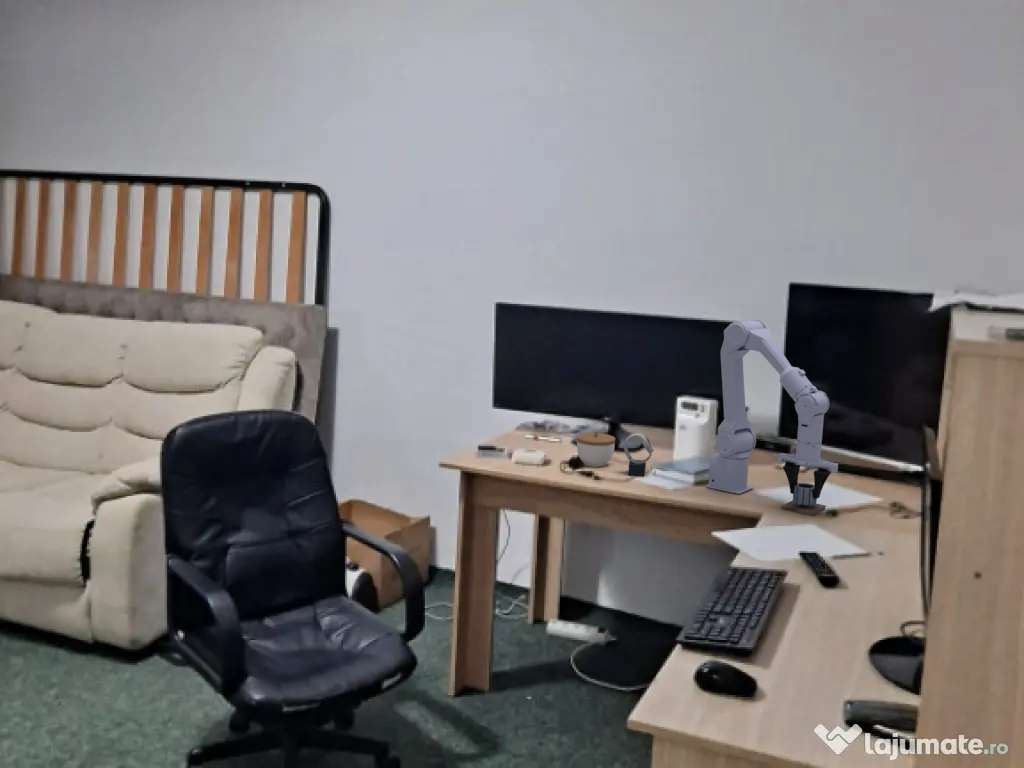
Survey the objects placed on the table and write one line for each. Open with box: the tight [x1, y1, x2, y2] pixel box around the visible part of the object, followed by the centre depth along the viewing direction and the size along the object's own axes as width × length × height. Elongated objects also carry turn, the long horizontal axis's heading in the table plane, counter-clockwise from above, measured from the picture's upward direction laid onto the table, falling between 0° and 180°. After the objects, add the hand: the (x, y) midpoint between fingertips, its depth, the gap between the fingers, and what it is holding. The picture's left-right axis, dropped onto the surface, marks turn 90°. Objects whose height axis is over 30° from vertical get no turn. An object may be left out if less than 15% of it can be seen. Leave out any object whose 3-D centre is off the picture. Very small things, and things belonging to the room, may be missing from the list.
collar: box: [792, 482, 818, 505], centre depth 251 cm, size 6×6×4 cm
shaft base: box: [780, 499, 827, 517], centre depth 251 cm, size 8×8×5 cm
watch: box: [623, 432, 654, 478], centre depth 278 cm, size 6×8×11 cm
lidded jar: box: [576, 430, 616, 468], centre depth 287 cm, size 11×11×9 cm
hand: (804, 495), depth 251 cm, fingers closed on collar, 5 cm apart
